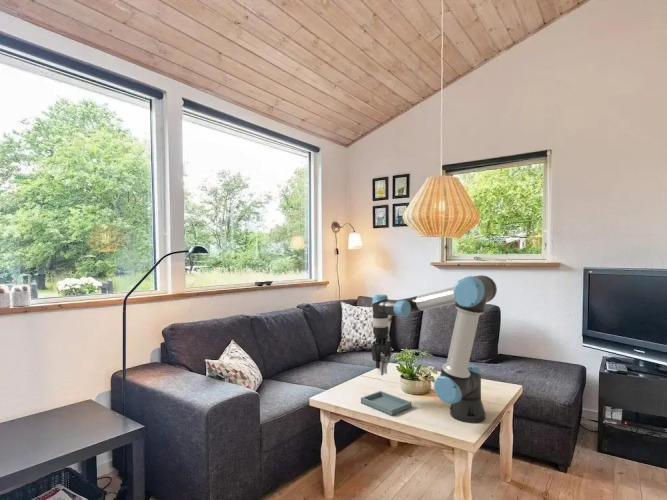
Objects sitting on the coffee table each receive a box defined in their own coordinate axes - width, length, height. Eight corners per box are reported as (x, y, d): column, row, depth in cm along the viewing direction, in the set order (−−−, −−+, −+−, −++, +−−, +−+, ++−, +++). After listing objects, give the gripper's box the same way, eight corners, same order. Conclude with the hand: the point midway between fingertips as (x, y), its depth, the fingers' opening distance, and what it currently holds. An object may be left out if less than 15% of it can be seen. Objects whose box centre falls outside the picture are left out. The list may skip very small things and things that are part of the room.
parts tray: (411, 407, 182) (411, 402, 182) (391, 416, 173) (391, 410, 173) (380, 395, 197) (380, 390, 197) (360, 403, 188) (360, 397, 188)
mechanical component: (387, 378, 184) (387, 357, 184) (372, 373, 192) (371, 353, 192) (391, 376, 186) (391, 356, 186) (376, 372, 194) (375, 352, 194)
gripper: (386, 323, 198) (387, 368, 197) (363, 327, 187) (364, 375, 187) (397, 324, 192) (398, 372, 191) (374, 329, 182) (375, 379, 181)
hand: (382, 373), depth 189 cm, fingers closed on mechanical component, 3 cm apart
